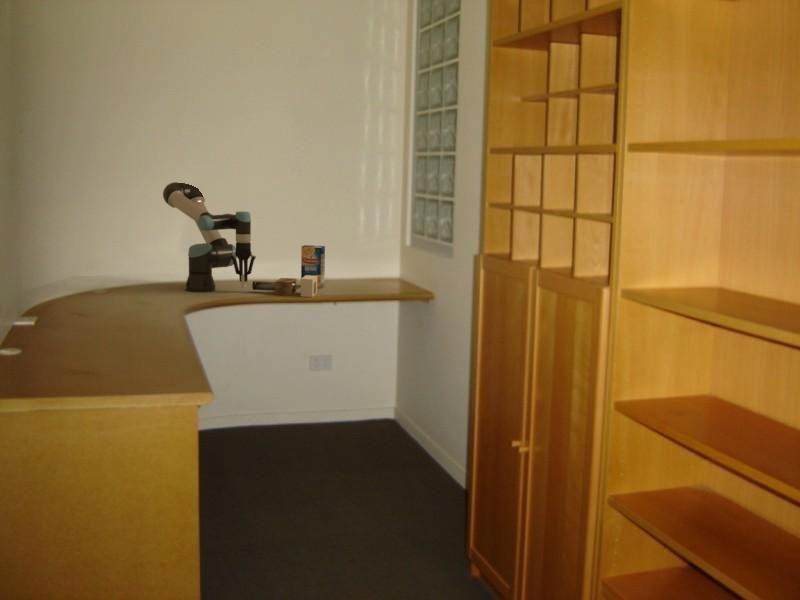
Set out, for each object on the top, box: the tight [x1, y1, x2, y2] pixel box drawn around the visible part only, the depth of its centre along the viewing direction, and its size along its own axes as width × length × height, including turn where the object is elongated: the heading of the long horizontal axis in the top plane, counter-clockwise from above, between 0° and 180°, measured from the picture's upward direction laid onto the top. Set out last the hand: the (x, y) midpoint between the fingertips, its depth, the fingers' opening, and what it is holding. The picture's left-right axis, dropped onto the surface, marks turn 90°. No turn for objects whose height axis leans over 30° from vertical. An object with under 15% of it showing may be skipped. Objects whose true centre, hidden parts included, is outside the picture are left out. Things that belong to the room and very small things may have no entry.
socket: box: [300, 275, 318, 298], centre depth 465 cm, size 6×12×9 cm, turn 174°
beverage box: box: [300, 244, 326, 290], centre depth 487 cm, size 7×11×22 cm, turn 77°
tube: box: [251, 280, 298, 293], centre depth 467 cm, size 22×4×4 cm, turn 84°
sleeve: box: [274, 277, 297, 297], centre depth 466 cm, size 8×12×7 cm, turn 174°
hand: (243, 287), depth 469 cm, fingers closed
